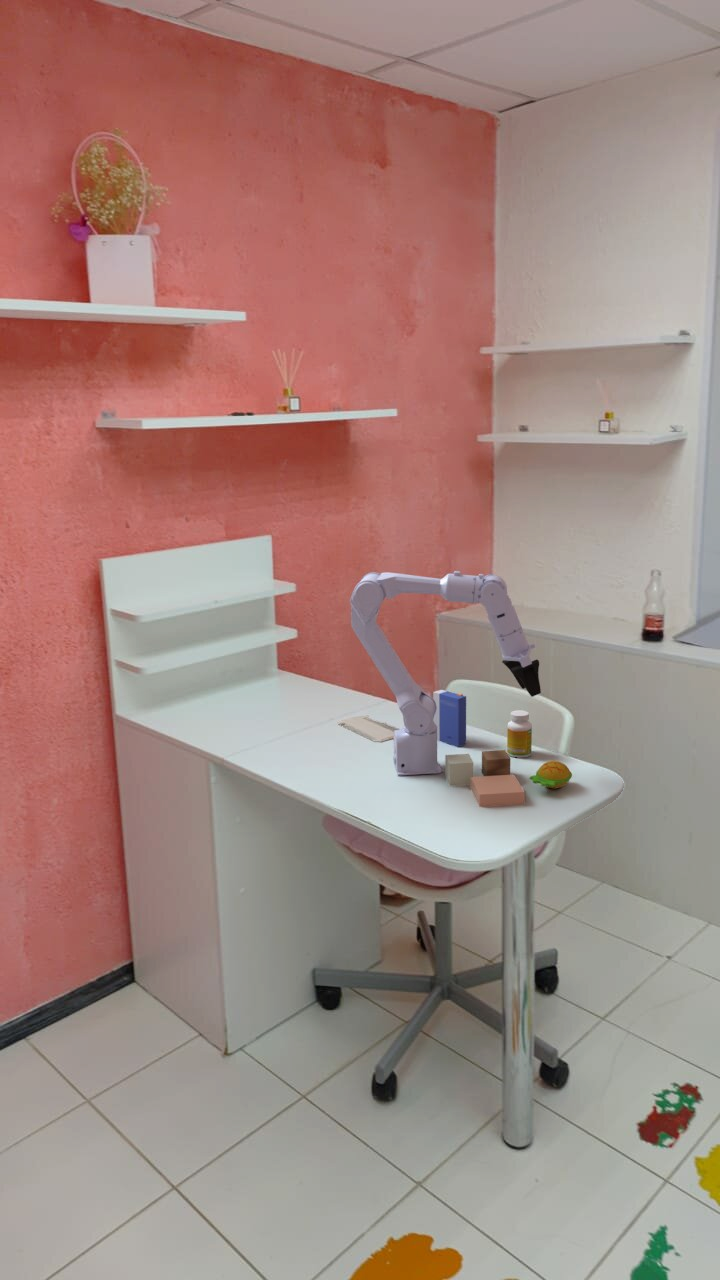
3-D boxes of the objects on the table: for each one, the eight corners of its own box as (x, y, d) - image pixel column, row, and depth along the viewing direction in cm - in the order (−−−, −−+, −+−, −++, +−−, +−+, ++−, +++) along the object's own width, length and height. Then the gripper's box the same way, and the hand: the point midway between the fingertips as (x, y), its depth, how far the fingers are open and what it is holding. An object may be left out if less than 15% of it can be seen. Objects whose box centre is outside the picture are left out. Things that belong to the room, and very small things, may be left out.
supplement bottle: (530, 759, 213) (531, 717, 210) (506, 757, 214) (506, 716, 211) (531, 750, 218) (532, 709, 216) (507, 749, 219) (508, 708, 217)
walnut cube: (486, 782, 201) (486, 759, 200) (481, 773, 206) (481, 751, 205) (510, 780, 202) (510, 758, 200) (504, 771, 206) (504, 750, 205)
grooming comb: (411, 735, 230) (411, 732, 230) (377, 744, 225) (377, 741, 225) (367, 716, 245) (367, 713, 245) (333, 724, 239) (333, 722, 239)
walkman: (466, 744, 223) (466, 694, 220) (458, 747, 221) (458, 697, 218) (440, 736, 228) (440, 687, 225) (433, 739, 227) (432, 690, 224)
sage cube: (449, 786, 200) (449, 763, 198) (445, 777, 204) (445, 755, 203) (473, 784, 200) (473, 762, 199) (468, 775, 205) (468, 753, 204)
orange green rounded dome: (578, 785, 198) (579, 760, 197) (552, 800, 191) (553, 775, 190) (549, 776, 203) (549, 753, 202) (522, 791, 196) (523, 767, 194)
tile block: (479, 808, 189) (479, 794, 189) (470, 790, 198) (470, 777, 197) (524, 806, 190) (524, 791, 189) (513, 788, 199) (513, 774, 198)
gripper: (535, 629, 192) (558, 690, 194) (518, 619, 206) (540, 676, 208) (502, 643, 192) (526, 704, 194) (487, 631, 206) (510, 689, 208)
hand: (531, 690), depth 201 cm, fingers open, 7 cm apart
